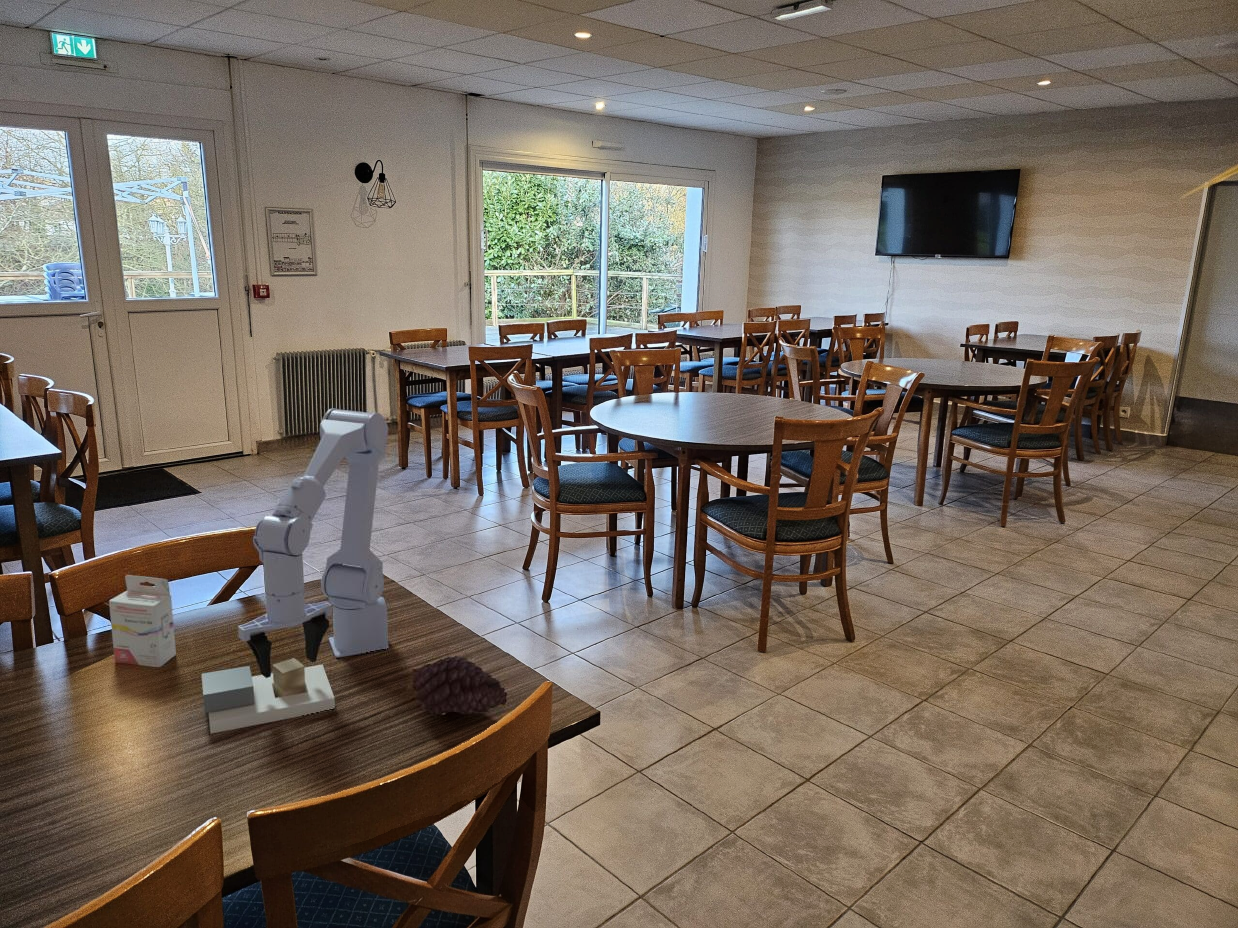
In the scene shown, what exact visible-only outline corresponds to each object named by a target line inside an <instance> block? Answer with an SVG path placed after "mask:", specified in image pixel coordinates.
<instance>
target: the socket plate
mask: <svg viewBox="0 0 1238 928" xmlns="http://www.w3.org/2000/svg"><path fill="white" fill-rule="evenodd" d="M304 670H305V693H300V694H295V695H289V696H284V697H278V698H275V696H274V682H273V672H271V677H268V678H265V677H264V676H263V675H262V674H260V675H259V674H258V675H253V676H252V681H253V687H254V704H249V705H243V706H238V707H232V708H227V709H222V710H216V711H211V712H208V720H209V732H210V734H215V733H216V734H217V733H220V732H226V731H233V730H236V729H240V728H243V729H244V728H247V727H252V726H257V725H261V724H263V725H264V724H267V723H273V722H278V721H284V720H288V719H292V718H299V717H303V716H302V715H304V716H308V715H307V714H309V715H312V714H311V713H314V714H317V713H316V712H319V713H321V712H320V711H324V710H329V709H333V708H335V709H336V705H335V696H334V693H333V690H332V688H331V684H330V682H329V679H328V676H327V673H326V671H325V668H324V664H318V665H312V666H304ZM329 711H330V710H329ZM324 712H325V711H324Z"/></svg>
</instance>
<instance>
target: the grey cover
mask: <svg viewBox="0 0 1238 928" xmlns="http://www.w3.org/2000/svg"><path fill="white" fill-rule="evenodd" d="M252 677H253V676H252V671H251V667H250V665H246V666H239V667H234V668H228V669H227V668H226V669H223V670H217V671H211V672H210V671H209V672H205V673H204V672H203V673H201V684H202V694H203V695H202V699H203V708H204V713H209V712H211V711H216V710H222V709H227V708H232V707H238V706H243V705H249V704H254V687H253V681H252Z"/></svg>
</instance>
